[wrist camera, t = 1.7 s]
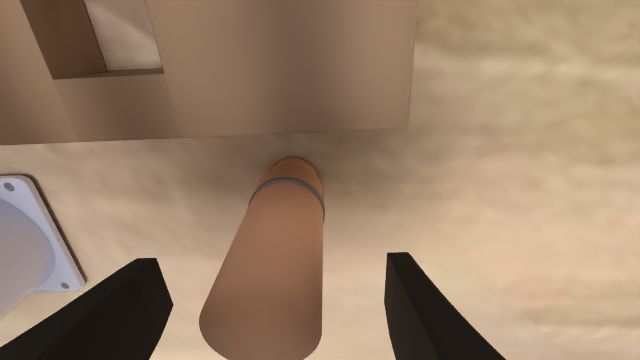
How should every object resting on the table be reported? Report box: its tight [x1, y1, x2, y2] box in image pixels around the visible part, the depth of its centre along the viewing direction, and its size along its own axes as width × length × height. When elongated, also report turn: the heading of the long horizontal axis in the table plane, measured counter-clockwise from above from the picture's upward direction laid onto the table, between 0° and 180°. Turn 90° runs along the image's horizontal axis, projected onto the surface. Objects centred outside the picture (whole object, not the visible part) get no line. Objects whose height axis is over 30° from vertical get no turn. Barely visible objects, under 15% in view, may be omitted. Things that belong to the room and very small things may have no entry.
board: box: [0, 0, 418, 145], centre depth 11 cm, size 20×9×3 cm, turn 93°
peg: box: [199, 158, 325, 360], centre depth 12 cm, size 3×3×9 cm
